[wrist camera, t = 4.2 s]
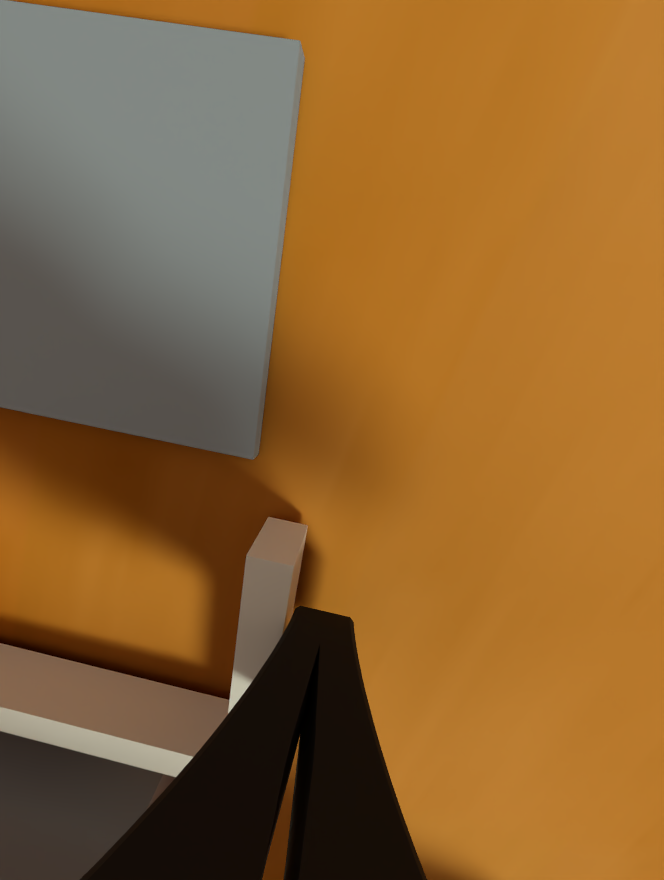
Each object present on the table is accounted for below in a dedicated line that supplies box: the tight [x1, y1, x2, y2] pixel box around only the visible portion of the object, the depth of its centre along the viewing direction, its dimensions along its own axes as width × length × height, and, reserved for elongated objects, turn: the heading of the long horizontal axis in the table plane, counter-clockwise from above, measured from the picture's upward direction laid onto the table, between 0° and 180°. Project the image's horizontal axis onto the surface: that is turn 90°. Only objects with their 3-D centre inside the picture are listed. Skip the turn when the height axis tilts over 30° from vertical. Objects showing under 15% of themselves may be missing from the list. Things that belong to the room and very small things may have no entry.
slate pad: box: [0, 0, 305, 460], centre depth 8 cm, size 11×8×1 cm
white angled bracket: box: [0, 517, 308, 777], centre depth 10 cm, size 12×8×2 cm, turn 80°
